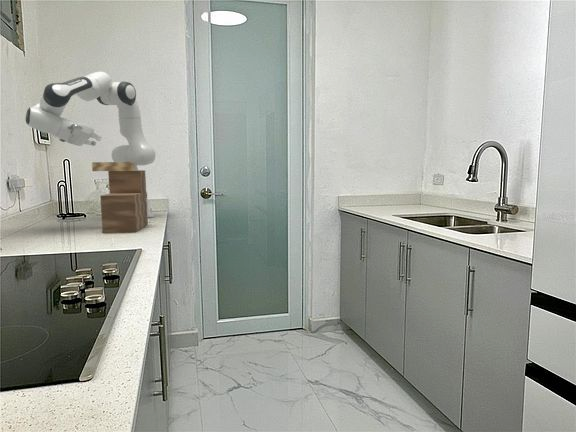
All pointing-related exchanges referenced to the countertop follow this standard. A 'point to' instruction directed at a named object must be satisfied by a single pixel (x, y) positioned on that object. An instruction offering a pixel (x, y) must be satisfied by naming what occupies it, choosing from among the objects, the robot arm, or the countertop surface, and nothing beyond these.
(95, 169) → the tan rectangular block
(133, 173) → the step shelf
